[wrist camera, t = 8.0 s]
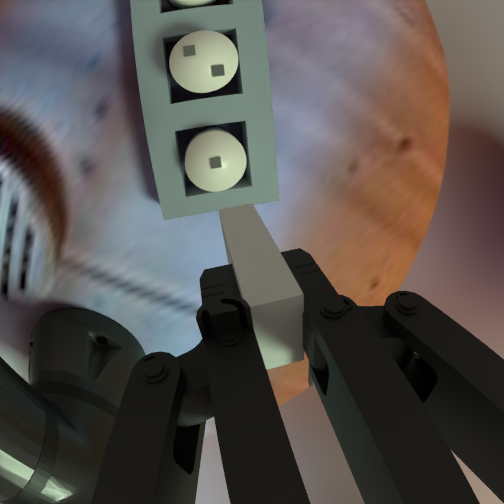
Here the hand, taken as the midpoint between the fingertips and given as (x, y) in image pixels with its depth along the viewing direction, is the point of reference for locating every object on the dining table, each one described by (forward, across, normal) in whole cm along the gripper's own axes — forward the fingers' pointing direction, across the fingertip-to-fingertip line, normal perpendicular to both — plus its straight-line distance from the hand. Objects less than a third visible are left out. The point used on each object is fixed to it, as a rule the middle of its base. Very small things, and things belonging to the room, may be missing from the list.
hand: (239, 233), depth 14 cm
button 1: (+11, 0, +1) cm, 11 cm away
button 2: (+10, 0, +8) cm, 13 cm away
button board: (+12, 0, +8) cm, 14 cm away
